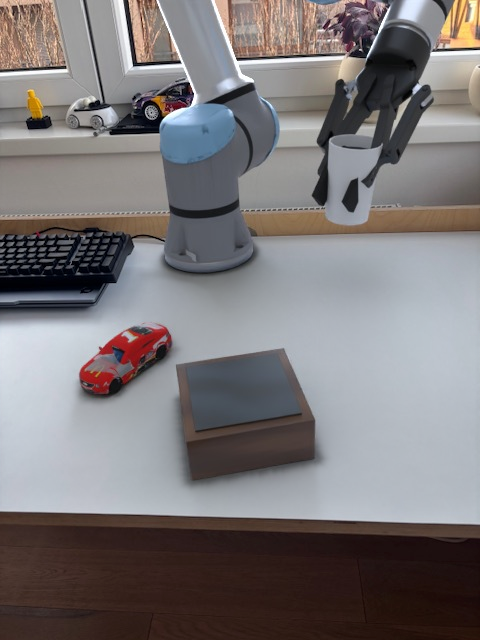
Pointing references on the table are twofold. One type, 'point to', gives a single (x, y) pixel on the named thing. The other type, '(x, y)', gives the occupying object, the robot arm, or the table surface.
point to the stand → (244, 413)
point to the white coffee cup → (350, 176)
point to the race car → (125, 357)
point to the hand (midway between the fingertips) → (332, 203)
